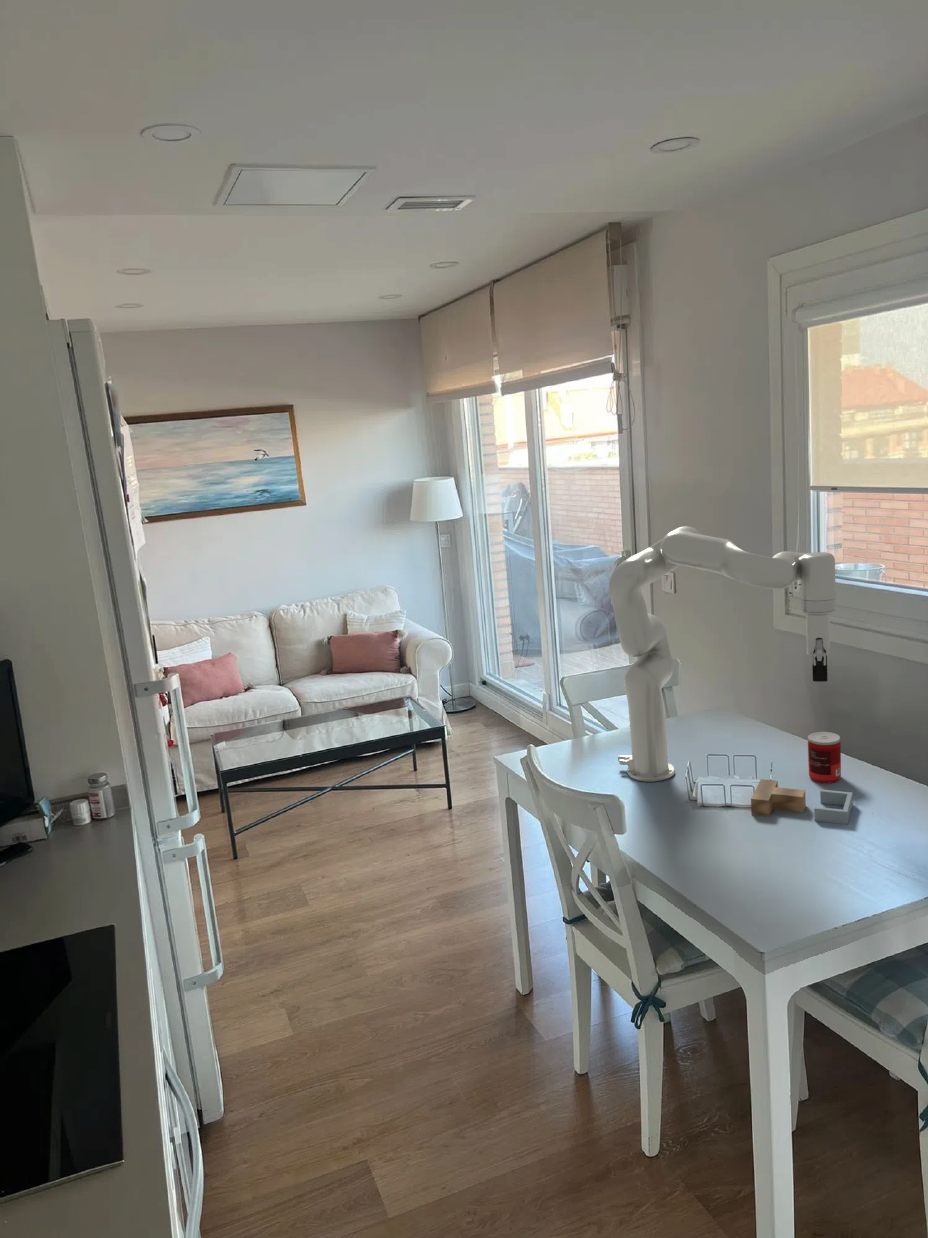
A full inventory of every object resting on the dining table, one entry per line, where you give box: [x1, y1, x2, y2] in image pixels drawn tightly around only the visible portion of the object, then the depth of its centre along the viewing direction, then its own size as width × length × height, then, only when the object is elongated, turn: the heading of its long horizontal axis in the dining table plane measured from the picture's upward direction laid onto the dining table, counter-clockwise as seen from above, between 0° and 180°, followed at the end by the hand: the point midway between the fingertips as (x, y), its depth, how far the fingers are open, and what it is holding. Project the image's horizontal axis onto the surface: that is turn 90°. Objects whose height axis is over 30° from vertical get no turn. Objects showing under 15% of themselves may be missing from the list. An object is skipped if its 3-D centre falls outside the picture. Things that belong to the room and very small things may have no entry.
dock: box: [813, 789, 854, 825], centre depth 209 cm, size 7×11×3 cm, turn 151°
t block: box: [750, 778, 807, 817], centre depth 214 cm, size 11×12×4 cm
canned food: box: [807, 731, 842, 784], centre depth 227 cm, size 8×8×11 cm
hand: (820, 675), depth 214 cm, fingers open, 9 cm apart
